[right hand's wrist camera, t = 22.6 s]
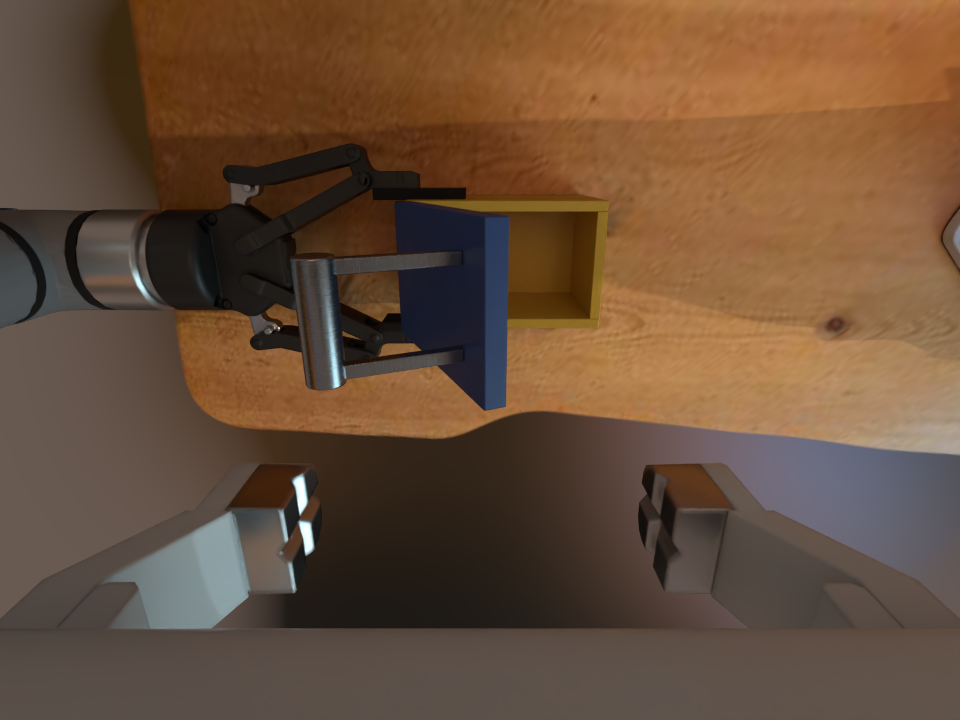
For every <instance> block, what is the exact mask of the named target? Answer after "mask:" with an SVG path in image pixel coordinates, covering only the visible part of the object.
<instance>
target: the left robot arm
mask: <svg viewBox="0 0 960 720" xmlns="http://www.w3.org/2000/svg"><path fill="white" fill-rule="evenodd" d="M347 166H350V169H351V171H352V173H353V176H351V177H349V178H347V179H345V180H344V181H342V182H340V183H338V184H337V185H335V186H333V187H331V188H330V189H328V190H326V191H324V192H322V193H321V194H319V195H317V196H315V197H314V198H312V199H310V200H308V201H307V202H305V203H303V204H301V205H300V206H298V207H296V208H294V209H292V210H291V211H289V212H287V213H285V214H283V215H281V216H279V217H277V218H275V219H273V220H272V219H271V218H269V217H268V216H266V215H265V214H263V213H262V212H260V211H259V210H257V209H256V208H255V207H253V206H252V205H250V201H251V199H252V198H253V197H254V196H260V195H261V194H262V193H263V191H264V185H276V184H281V183H285V182H289V181H293V180H296V179H300V178H304V177H308V176H312V175H316V174H320V173H324V172H328V171H332V170H335V169H339V168H343V167H347ZM223 177H224V178H225V180H226V181H228V182H230V190H231V204H229V205H227V206H226V207H224V208H222V209H219V210H166V211H163V212H162V211H159V210H93V211H67V210H18V209H14V208H0V328H3V327H6V326H10V325H12V324H18V323H22V322H25V321H28V320H31V319H34V318H37V317H40V316H43V315H47V314H50V313H53V312H58V311H67V310H171V309H174V308H175V309H178V310H235V311H238V312H241V313H243V314H244V315H247V316H249V318H250V321H251V325H252V328H253V332H254V336H253V337H252V338H251V340H250V344H251V346H252V347H253V348H254V349H256V350H266V349H275V348H284V349H288V350H293V351H297V352H302V350H301V343H300V335H299V327H298V326H293V325H283V324H282V322H281V321H280V320H278V319H273V318H270V317H269V316H268V315H267V314H266V310H268V309H269V308H270V307H272V306H273V305H274V304H275V303H278V304H280V305H282V306H284V307H287V308H289V309H292V310H296V304H295V296H294V288H293V280H292V273H291V265H290V257H291V256H293V255H295V254H296V243H295V239H292V236H291V234H293V233H294V232H296V231H298V230H300V229H302V228H303V227H305V226H306V225H308V224H310V223H311V222H313V221H315V220H317V219H319V218H320V217H322V216H324V215H326V214H328V213H329V212H331V211H333V210H335V209H337V208H338V207H340V206H342V205H344V204H345V203H347V202H349V201H351V200H353V199H354V198H356V197H358V196H360V195H362V194H363V193H365V192H367V191H369V190H371V189H373V200H408V199H466V188H420V174H418V173H415V172H413V171H377V170H375V169H374V168H373V167H372V166H371V164H370V161H369V159H368V157H367V151H366V149H365V148H364V147H362V146H360V145H356V144H345V145H342V146H338V147H334V148H330V149H326V150H322V151H319V152H315V153H311V154H307V155H303V156H299V157H296V158H292V159H288V160H284V161H280V162H276V163H272V164H269V165H265V166H261V167H253V166H242V165H227V166H226V167H224V169H223ZM339 304H340V314H341V324H342V331H344V332H346V333H348V334H350V335H353V336H355V337H357V338H359V339H361V340H358V339H354V338H349V337H345V336H343V345H344V355H345V361H352V360H359V359H366V358H373V357H378V356H379V355H380V353H381V348H382V346H383V345H384V344H387V343H413V342H412V341H411V340H410V339H409V338H408V337H407V336H406V335H405V334H404V333H403V332H402V329H401V313H388V314H387V315H386V317H385V318H384V320H383V321H382V322H380V321H378V320H376V319H374V318H372V317H370V316H368V315H366V314H363V313H361V312H359V311H357V310H355V309H353V308H351V307H349V306H347V305H344V304H342V303H340V302H339Z"/></svg>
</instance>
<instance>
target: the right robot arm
mask: <svg viewBox="0 0 960 720" xmlns="http://www.w3.org/2000/svg"><path fill="white" fill-rule="evenodd" d="M943 243H944V245H945V247H946V248H947V250H948V251H949V253H950V255H951V256H952V258H953V260H954V261H955V263H956V264H957V266H958V268H959V269H960V209H959V210H958V211H957V213H956V214H955V215H954V217H953V218H952V219H951V221H950V222H949V224H948V225H947V227H946V229H945V231H944V233H943ZM317 484H318V479H317V473H316V468H315V467H314V466H313V465H312V464H279V463H278V464H277V463H264V464H262V463H239V464H234V465H233V466H232V467H231V468H230V470H229V471H228V472H227V473H226V474H225V475H224V477H223V478H222V479H221V480H220V481H219V482H218V484H217V485H216V486H215V487H214V488H213V489H212V491H211V492H210V493H209V494H208V495H207V496H206V498H205V499H204V500H203V501H202V502H201V503H200V505H199V506H198V507H197V508H196V509H195V510H194V511H184V512H182V513H180V514H178V515H176V516H174V517H172V518H170V519H168V520H166V521H164V522H162V523H159V524H157V525H155V526H153V527H151V528H149V529H147V530H145V531H143V532H141V533H139V534H137V535H135V536H132V537H130V538H128V539H126V540H124V541H122V542H120V543H118V544H116V545H114V546H112V547H110V548H108V549H106V550H103V551H101V552H99V553H97V554H95V555H93V556H91V557H89V558H87V559H85V560H83V561H81V562H79V563H76V564H74V565H72V566H70V567H68V568H66V569H64V570H62V571H60V572H58V573H56V574H54V575H52V576H50V577H48V578H45V579H43V580H42V581H41V582H40V583H39V584H38V585H36V586H35V587H34V588H33V589H32V590H31V591H30V592H29V593H28V594H27V595H26V596H25V597H23V598H22V599H21V600H20V601H19V602H18V603H17V604H16V605H15V606H14V607H13V608H11V609H10V610H9V611H8V612H7V613H6V614H5V615H4V616H3V617H2V618H1V619H0V720H960V618H958V617H957V616H956V615H955V614H954V613H953V612H952V611H951V610H950V609H949V608H948V607H947V606H945V605H944V604H943V603H942V602H941V601H940V600H939V599H938V598H937V597H936V596H935V595H934V594H933V593H932V592H930V591H929V590H928V589H927V588H926V587H925V586H924V585H923V584H922V583H921V582H920V581H918V580H916V579H914V578H912V577H910V576H908V575H906V574H904V573H902V572H900V571H898V570H896V569H893V568H891V567H889V566H887V565H885V564H883V563H881V562H879V561H877V560H875V559H873V558H871V557H869V556H867V555H865V554H862V553H860V552H858V551H856V550H854V549H852V548H850V547H848V546H846V545H844V544H842V543H840V542H838V541H836V540H834V539H832V538H829V537H827V536H825V535H823V534H821V533H819V532H817V531H815V530H813V529H811V528H809V527H807V526H805V525H803V524H801V523H798V522H796V521H794V520H792V519H790V518H788V517H786V516H784V515H782V514H780V513H778V512H776V511H766V510H765V509H764V508H763V507H762V506H761V504H760V503H759V502H758V501H757V500H756V499H755V498H754V496H753V495H752V494H751V493H750V492H749V491H748V489H747V488H746V487H745V486H744V485H743V484H742V482H741V481H740V480H739V479H738V478H737V477H736V475H735V474H734V473H733V472H732V471H731V470H730V469H729V467H728V466H727V465H725V464H723V463H699V464H662V465H646V467H645V470H644V472H643V479H642V484H643V486H644V488H645V490H646V492H647V495H646V496H645V497H644V498H643V499H642V500H641V501H640V503H639V512H638V521H639V531H640V536H641V539H642V542H643V545H644V547H645V549H646V550H647V551H648V552H650V553H651V554H653V555H654V563H653V567H654V570H655V572H656V574H657V576H658V578H659V581H660V583H661V585H662V587H663V589H664V592H665V593H687V594H712V595H711V596H712V597H713V598H714V599H715V600H716V601H718V602H719V603H720V604H721V605H722V606H723V607H725V608H726V609H727V610H728V611H729V612H730V613H732V614H733V615H734V616H735V617H736V618H737V619H739V620H740V621H741V622H742V623H743V624H745V625H746V626H747V627H748V628H749V629H211V628H212V627H213V626H214V625H216V624H217V623H218V622H219V621H220V620H222V619H223V618H224V617H225V616H226V615H227V614H229V613H230V612H231V611H232V610H233V609H235V608H236V607H237V606H238V605H239V604H240V603H242V602H243V601H244V600H245V599H246V598H248V594H272V593H295V592H296V590H297V587H298V585H299V583H300V581H301V579H302V576H303V574H304V572H305V570H306V567H307V563H306V555H307V554H309V553H310V552H312V551H313V550H314V549H315V547H316V545H317V542H318V540H319V535H320V530H321V525H322V510H321V502H320V501H319V500H318V499H317V498H316V497H315V496H314V495H313V492H314V490H315V488H316V486H317Z"/></svg>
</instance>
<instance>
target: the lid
mask: <svg viewBox="0 0 960 720" xmlns="http://www.w3.org/2000/svg"><path fill="white" fill-rule="evenodd" d="M394 203H395V221H396V239H397V253H389V254H372V255H356V256H340V257H335V256H334V255H333V254H330V253H304V254H297V255H293V256H291V257H290V265H291V273H292V280H293V288H294V296H295V304H296V311H297V319H298V327H299V335H300V343H301V350H302V358H303V366H304V374H305V381H306V386H307V387H308V388H310V389H312V390H331V389H335V388H338V387H341V386H343V385H344V384H345V383H346V381H347V379H353V378H359V377H366V376H372V375H379V374H385V373H392V372H398V371H405V370H411V369H418V368H424V367H431V366H438V367H439V368H440V369H441V370H442V371H443V372H444V373H445V374H447V375H448V376H449V377H450V378H451V379H452V380H453V381H454V382H455V383H456V384H457V385H458V386H459V387H460V388H461V389H462V390H463V391H464V392H465V393H466V394H467V395H468V396H469V397H470V398H472V399H473V400H474V401H475V402H476V403H477V404H478V405H479V406H480V407H481V408H482V409H483V410H484V411H486V410H492V409H497V408H502V407H505V406H506V367H507V314H508V261H509V216H506V215H500V214H493V213H487V212H480V211H474V210H467V209H461V208H454V207H448V206H441V205H434V204H428V203H421V202H415V201H395V202H394ZM395 270H398V275H399V293H400V311H401V329H402V332H403V333H404V334H405V335H406V336H407V337H408V338H409V339H410V340H411V341H412V342H413V343H414V344H415V345H416V346H417V347H418V348H419V349H420V350H422V351H416V352H409V353H402V354H395V355H388V356H380V357H373V358H366V359H359V360H352V361H345V355H344V345H343V335H342V324H341V314H340V304H339V294H338V284H337V275H342V274H355V273H368V272H382V271H395Z"/></svg>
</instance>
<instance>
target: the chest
mask: <svg viewBox="0 0 960 720" xmlns="http://www.w3.org/2000/svg"><path fill="white" fill-rule="evenodd" d="M406 201H415V202H421V203H428V204H434V205H441V206H448V207H454V208H461V209H467V210H474V211H480V212H487V213H493V214H500V215H506V216H509V261H508V314H507V328H598V327H599V318H600V306H601V294H602V282H603V270H604V258H605V246H606V234H607V222H608V212H607V211H608V209H609V201H608V200H604V199H599V198H594V197H589V196H584V195H466V199H408V200H406Z"/></svg>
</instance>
